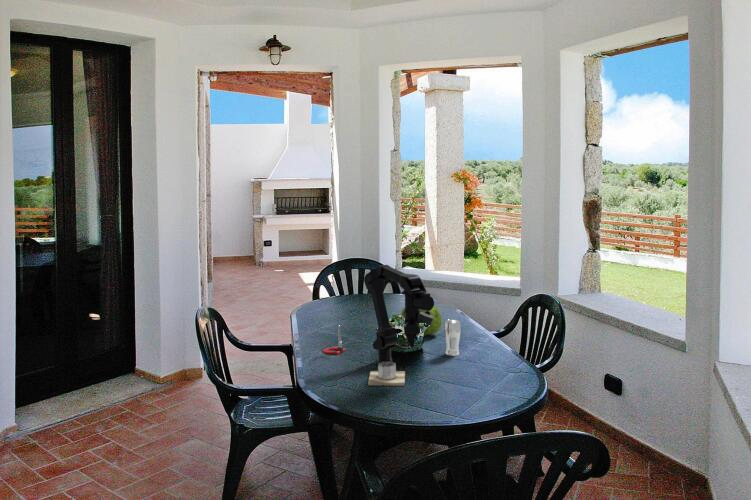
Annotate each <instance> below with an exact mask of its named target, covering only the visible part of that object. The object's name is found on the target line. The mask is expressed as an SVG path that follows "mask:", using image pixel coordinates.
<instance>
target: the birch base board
mask: <svg viewBox="0 0 751 500" xmlns="http://www.w3.org/2000/svg"><path fill="white" fill-rule="evenodd" d="M405 378H406V371H404V370H402V371H401V370H400V371H399V370H396V378H394V379H391V380H383V379H380V378H378V370H370V372H369V377H368V383H367V385H368V386H383V385H384V387H385V386H386V387H387V386H393V387H395V386H399V387H401V386H405V382H406V381H405V380H406V379H405Z"/></svg>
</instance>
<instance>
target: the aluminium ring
mask: <svg viewBox="0 0 751 500" xmlns="http://www.w3.org/2000/svg"><path fill="white" fill-rule="evenodd" d="M384 365H390V366H384ZM396 367H397V366H396V362H393V361H392V362H381V363H379V364H377V371H378V378H380V379H383V380H391V379H394V378H396V371H397V368H396Z"/></svg>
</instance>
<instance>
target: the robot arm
mask: <svg viewBox="0 0 751 500" xmlns="http://www.w3.org/2000/svg"><path fill="white" fill-rule="evenodd" d="M386 279H389V280H391V281H393V282H395V283H398V284H399V287H400V288H401V289H403V291H402V292H401V293H400V294H401V295H404V308H405V325H404V329H403V332H404V335H405V337H406V339H407V342H408V344H409V346H410V348H411V349H413V348H414V347H415V343H416V339H417V338H416V337H417V336H419V335H418V334H419V333H420V325H419V323H420V322H423V323H426V324H427V325H431V323H432V320H433V316H432V315H430V310H431V309H432V308H433V306H434V305H435V300H434V298H433V297H432V296H431V293H429V292H428V291H427V290H426V286H425V285H424V283H423V281H422V278H421V276H419V275H418V274H413V273H412V274H411V273H405V272H403V271H400V270H398V269H396V268H393V267H391V266H390V265H389V264H380V265H378V266H377V267H376V268H374V269H372V270H371V271H369V272H368V273H366V274H365V275H364V277H363V283H364V286H365V288H366V290H367V291H368V292H369V294H371V298H372V299H371V300H372V305H373V309H374V312H375V317H376V321H377V330H376V333H375V334H376V335H375V336H376V338H375V340H374V341H373V342H372V349H374V350H377V358H376V365H378V364H379V363H381V362H393V358H392V349H393V348H396V345H397V341H398V334H397V328H396V327H394V326H392V325H391V324H390V319H389V315H388V309H387V306H386V302H385V297H384V292H383V291H384V288H385V281H386ZM420 309H422V310H426V311H425V312H420Z"/></svg>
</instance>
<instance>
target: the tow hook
mask: <svg viewBox="0 0 751 500" xmlns="http://www.w3.org/2000/svg"><path fill="white" fill-rule="evenodd" d="M337 327H338V328H337V335H338V336H337V338H338V339H337V340H338V341H337V342H338V343H337V344H338V345H337V346H338V347H335V346H334V347H328V348H325V349H323V353H324V354H328V355H333V354H334V355H339V354H342V353H344V352H346V350H347V349H346V348H344V347H343V344H342V343H343V342H342V333H341V325H340V324H339V325H337Z"/></svg>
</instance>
